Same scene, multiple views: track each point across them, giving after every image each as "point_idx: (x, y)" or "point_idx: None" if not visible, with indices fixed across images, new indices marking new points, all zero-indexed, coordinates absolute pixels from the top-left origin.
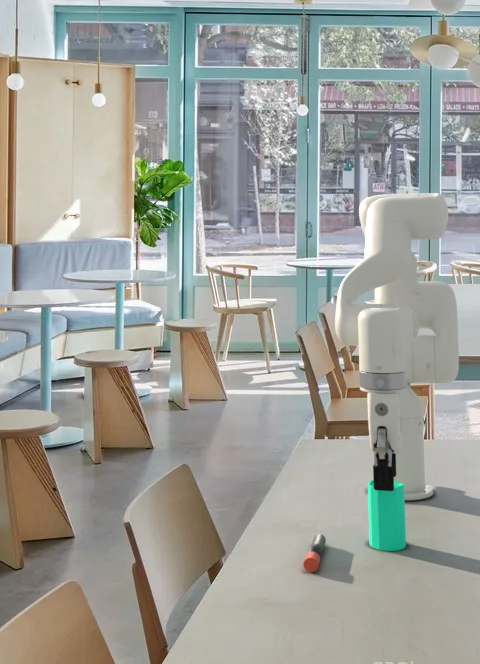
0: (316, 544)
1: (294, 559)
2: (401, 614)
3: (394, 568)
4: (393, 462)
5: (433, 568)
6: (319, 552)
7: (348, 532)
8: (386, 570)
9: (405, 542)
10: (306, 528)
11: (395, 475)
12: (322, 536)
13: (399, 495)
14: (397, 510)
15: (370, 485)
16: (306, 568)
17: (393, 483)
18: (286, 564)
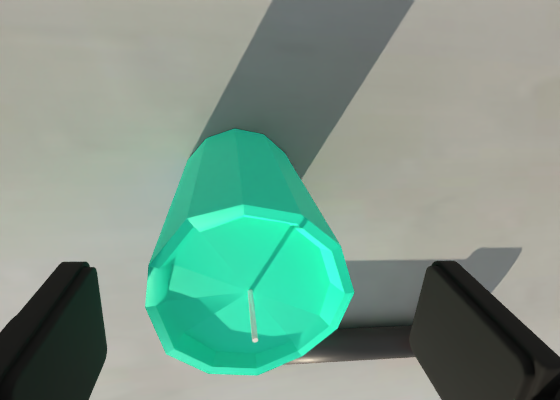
0: (365, 354)
1: (374, 367)
2: None
3: (429, 161)
4: (49, 341)
5: (429, 50)
6: (401, 338)
7: (143, 289)
8: (443, 180)
9: (240, 131)
10: (140, 382)
11: (84, 265)
12: None
13: (307, 208)
14: (306, 193)
15: (284, 359)
16: None
17: (476, 281)
18: (405, 374)
